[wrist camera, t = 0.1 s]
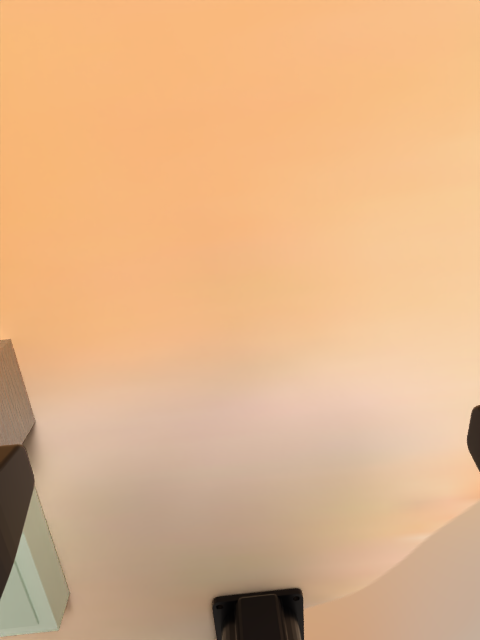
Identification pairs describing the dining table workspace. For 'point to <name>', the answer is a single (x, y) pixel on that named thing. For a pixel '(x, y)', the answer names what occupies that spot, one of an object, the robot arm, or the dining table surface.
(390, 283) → the dining table surface
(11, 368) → the block
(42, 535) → the pale green flat slab
